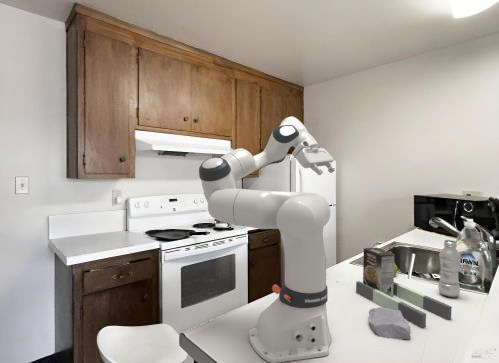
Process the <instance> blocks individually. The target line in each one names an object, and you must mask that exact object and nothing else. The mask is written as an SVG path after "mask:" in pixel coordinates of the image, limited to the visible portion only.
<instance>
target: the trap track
mask: <svg viewBox="0 0 499 363" xmlns="http://www.w3.org/2000/svg"><path fill="white" fill-rule="evenodd" d="M355 293H356V294H358V295H360V296H362V297H364V298H366V299H368V300H369V301H371V302H373V303H375V304H376V305H379V306H381V308H388V309H393V310H400V311H401V313H402V316H403V318H404V319H406V320H407V321H408V322H409V323H412V324H413V325H415V326H417V327H419V328H421V329H424V328H426V327H427V313H425V312H423V311H422V310H420V309H417V308H415V307H414V306H411V305H410V304H407V303H405V302H403V301H401V300H399V299H397V298H396V297H399V298H401V299H402V300H405V301H406V302H408V303H411V304H412V305H415V306H417V307H419V308H421V309H424V310H426V311H427V312H429V313H432V314H434V315H436V316H438V317H440V318H442V319H444V320H447V321H451V320H452V308H453V307H452V306H451V305H449V304H447V303H445V302H443V301H440V300H438V299H436V298H432V297H430V296H428V295H426V294H423V293H421V292H419V291H416V290H414V289H412V288H409V287H407V286H405V285H403V284H400V283H397V282H395V281H394V286H393V297H391V296H389V295H387V294H385V293H383V292H380V291H378V290H376V289H374V288H372V287H370V286H368V285H366V284H364V283H363V281H360V280H358V281H356V283H355ZM394 296H396V297H394Z"/></svg>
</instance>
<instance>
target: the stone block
mask: <svg viewBox="0 0 499 363" xmlns="http://www.w3.org/2000/svg"><path fill="white" fill-rule="evenodd" d="M368 321H369V322H368V323H369V324H370V327H371V329H372V330H371V331H373V332H374V333H375V334H376V335H377V336H378V337H381V338H386V339H399V340H408V341H409V340H410V339H411V335H412V334H411V333H412V332H411V331H412V330H411V325H410V322H409V321H408V320H406V319H404V318H403V316H402V313H401V311H400V310H393V309H388V308H384V307H375V308H374V307H373V308H372V309H371V308H370V309H369V310H368Z"/></svg>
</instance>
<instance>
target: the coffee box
mask: <svg viewBox="0 0 499 363" xmlns="http://www.w3.org/2000/svg"><path fill="white" fill-rule="evenodd" d="M395 256H396V254H395V253H393V252H392V253H390V251H388V250H384V249H382V248H379V247H365V248H363V261H362V262H363V266H362V268H363V270H362V279H363V280H362V283H364V284H366V285H368V286H370V287H372V288H374V289H376V290H378V291H380V292H383V293H385V294H387V295H389V296H391V297H393V298H394V294H393V286H394V282H395V280H394V278H395V275H394V263H395V260H396V259H395Z"/></svg>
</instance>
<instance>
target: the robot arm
mask: <svg viewBox="0 0 499 363" xmlns="http://www.w3.org/2000/svg"><path fill="white" fill-rule="evenodd" d="M291 147H294V150H293V151H292V152H291V154H292V156H293V157H295V159H296V160H297V162H298V163H299V164H300V166H301V167H302V168H304V169H311V170H312V171H313V172H315V173H316V174H317V176H321V175H323V174H324V171H323V170H322V169H320V168H319V167H324V166H325V167H326V168H327V171H328V172H329V174H332V173H334V172H335V168H334V167H333V164H332V163H334V158H333V156H332V155H331V154H330V152H328V151H327V149H325V148H323V147H321V146H319V143H318V142H317V140H316V139H315V138H314V136H313V135H312V134H311V133H309V131H308V129H307V128H306V126H305V125H304V124H303V122H301V121H300V120H299V119H298V118H297V117H295V116H288V117H286V118H284V119H283V120H282V121H281V122H280V125H279V126H276V127H275V128H274V129H273V130H272V131H271V135H270V136H269V139H268V141H267V144H266V145H265V148H264V150H263V151H261V152H260V153H258V154H255V155H253V154H252V153H251V152H250V151H248V150H247V149H245V148H242V147H241V148H236V149H233V150H231V151H229V152H227V153H226V154H224V155H222V156H220V157H219V156H217V157H215V156H214V157H211V158H208V159H205V160H204V161H202V163H201V164H200V166H199V168H198V175H199V179H200V180H201V186H202V190H203V195H204V197H205V200H206V202H207V211H208V214H209V215H210V217H212V218H213V219H215V220H217V221H219V222H221V223H222V222H223V223H226V224H229V225H234V226H240V227H247V228H254V229H260V230H270V229H271V230H274V229H275V230H279V232H280V236H281V241H282V245H283V247H282V248H283V252H284V282H283V284H282V287H281V286H279V285H278V284H273V285H272V287H271V290H272V292H274V293H275V294H276V295H278V297H277V298H276V299H275V300H273V302H271V303H270V304H269V306H267V307H266V308H265V309H264V310H263V311H262V312H260V314H259V316H258V320H257V326H256V327H253V328H251V329H249V332H248V341H249V343H250V346H251V348H253V350H254V352H255V353H256V354H257V355H258V356H259V357H260V358H262V359H263V360H265V361H266V362H268V363H284V362H292V361H299V360H304V359H312V358H313V359H314V358H318V357H319V358H320V357H327V356H328V355H329V353H330V351H329V346H330V345H331V344H332V334H331V330H330V326H329V322H328V320H329V319H328V314H327V310H328V309H327V302H328V297H329V296H328V294H329V293H328V285H327V256H326V251H325V245H324V244H325V243H324V227H325V226H326V225H327V224H328V222H329V220H330V218H331V206H330V204H329V202H328V200H327V199H326V198H324V196H322V195H321V194H319V193H315V192H307V191H306V192H304V191H303V192H302V191H284V190H283V191H280V190H279V191H278V190H274V191H273V190H260V189H258V190H257V189H248V188H247V189H245V188H237V185H236V182H238V181H240V180H241V179H243V178H244V177H246V176H248V175H250V174H253V173H254V172H258V171H259V170H261V169H263V168H266V167H267V166H269V165H273V164H280V163H281V162H283V161H285V159H286V157H287V154H288V152H289V150H290V148H291Z"/></svg>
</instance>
